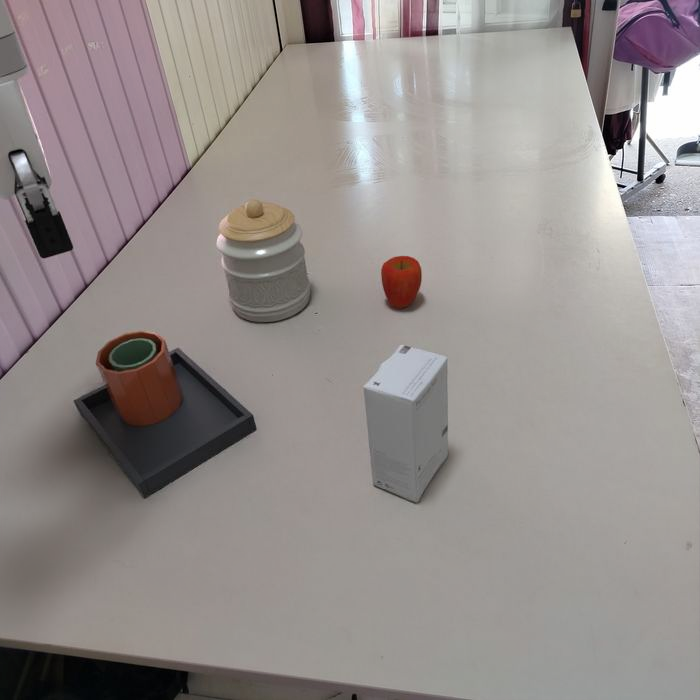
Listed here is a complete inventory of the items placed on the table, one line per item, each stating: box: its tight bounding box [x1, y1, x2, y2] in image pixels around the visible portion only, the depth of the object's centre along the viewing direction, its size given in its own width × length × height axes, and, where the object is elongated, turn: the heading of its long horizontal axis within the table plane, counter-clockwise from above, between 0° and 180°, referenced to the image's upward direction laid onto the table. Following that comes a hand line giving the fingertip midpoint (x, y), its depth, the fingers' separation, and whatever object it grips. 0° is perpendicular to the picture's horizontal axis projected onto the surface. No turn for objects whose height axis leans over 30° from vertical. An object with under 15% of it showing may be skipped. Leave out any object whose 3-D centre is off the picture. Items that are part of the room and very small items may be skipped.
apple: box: [380, 255, 423, 309], centre depth 97 cm, size 6×6×8 cm
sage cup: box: [109, 338, 159, 372], centre depth 82 cm, size 6×6×8 cm
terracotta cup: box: [95, 330, 182, 426], centre depth 82 cm, size 8×8×9 cm
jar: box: [216, 198, 311, 323], centre depth 98 cm, size 13×13×18 cm
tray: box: [73, 347, 257, 499], centre depth 82 cm, size 16×20×3 cm
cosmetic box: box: [363, 344, 449, 504], centre depth 68 cm, size 8×6×15 cm
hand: (49, 235), depth 67 cm, fingers open, 9 cm apart
